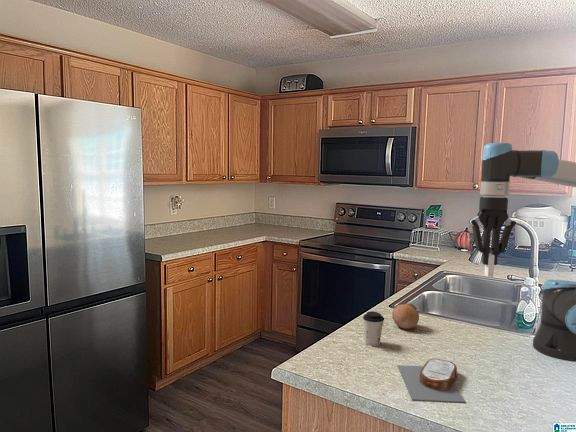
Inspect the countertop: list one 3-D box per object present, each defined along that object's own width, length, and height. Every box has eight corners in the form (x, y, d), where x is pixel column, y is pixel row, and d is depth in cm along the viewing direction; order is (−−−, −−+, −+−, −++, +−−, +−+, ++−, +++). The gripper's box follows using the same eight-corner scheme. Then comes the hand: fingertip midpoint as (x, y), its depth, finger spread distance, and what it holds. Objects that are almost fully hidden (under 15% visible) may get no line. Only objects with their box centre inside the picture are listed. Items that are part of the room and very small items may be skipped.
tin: (459, 370, 123) (429, 365, 127) (459, 360, 123) (428, 355, 127) (448, 393, 110) (415, 387, 114) (448, 381, 110) (415, 375, 114)
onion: (410, 333, 160) (420, 308, 162) (415, 335, 151) (426, 309, 152) (386, 322, 162) (396, 297, 163) (390, 323, 153) (400, 297, 154)
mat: (442, 368, 125) (442, 367, 125) (465, 402, 106) (465, 401, 106) (397, 366, 126) (397, 365, 126) (412, 400, 107) (412, 399, 107)
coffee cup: (386, 346, 140) (387, 317, 139) (366, 348, 139) (367, 318, 137) (378, 338, 147) (379, 310, 145) (359, 339, 145) (360, 311, 144)
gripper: (475, 196, 122) (470, 277, 125) (523, 197, 122) (517, 279, 124) (466, 195, 130) (462, 271, 132) (511, 196, 129) (505, 273, 131)
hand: (488, 275), depth 128 cm, fingers closed
